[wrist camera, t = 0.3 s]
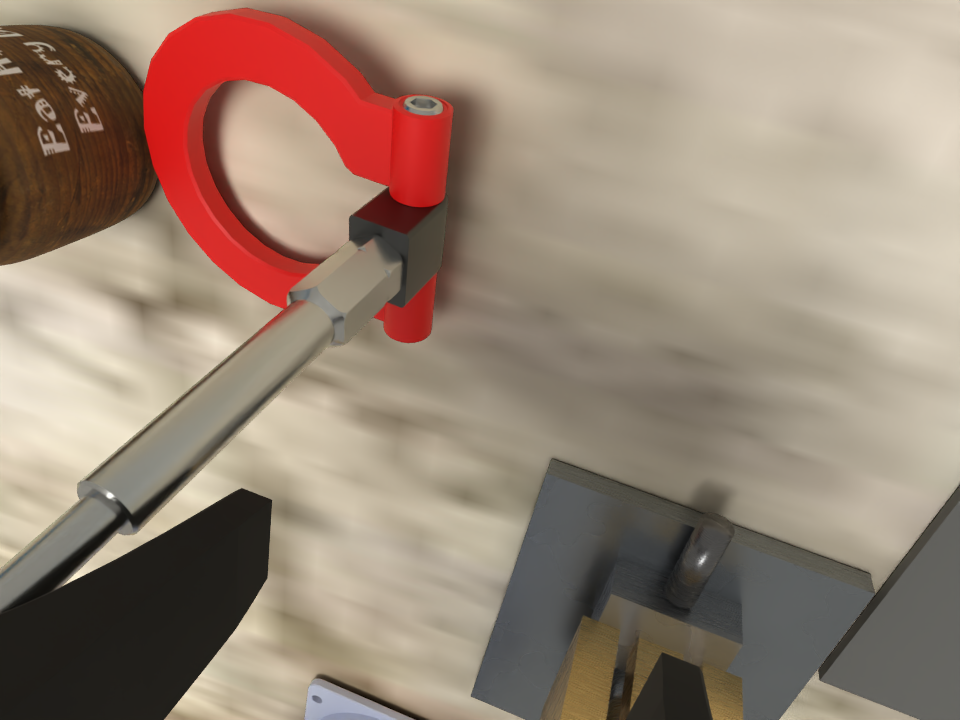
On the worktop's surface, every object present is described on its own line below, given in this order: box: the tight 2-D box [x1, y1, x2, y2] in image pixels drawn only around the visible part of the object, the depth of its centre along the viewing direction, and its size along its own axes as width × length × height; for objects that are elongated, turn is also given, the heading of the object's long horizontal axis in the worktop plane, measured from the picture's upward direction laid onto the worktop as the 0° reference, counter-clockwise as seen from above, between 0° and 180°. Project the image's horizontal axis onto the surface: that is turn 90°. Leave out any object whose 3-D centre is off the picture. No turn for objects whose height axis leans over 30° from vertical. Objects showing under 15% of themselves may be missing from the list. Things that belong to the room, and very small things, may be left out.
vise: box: [471, 459, 875, 720], centre depth 22 cm, size 13×10×6 cm
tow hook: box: [0, 8, 454, 614], centre depth 15 cm, size 8×13×9 cm
